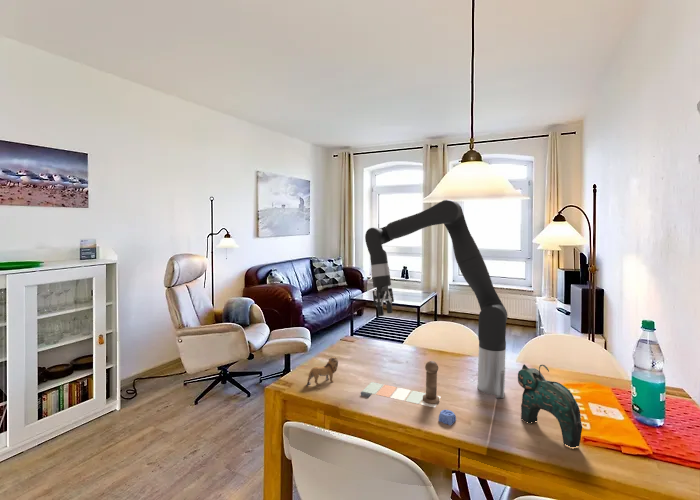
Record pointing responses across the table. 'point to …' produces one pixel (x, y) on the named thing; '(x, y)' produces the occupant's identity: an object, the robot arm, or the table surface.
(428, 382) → the pawn
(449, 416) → the decorative dice
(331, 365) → the lion figurine
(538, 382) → the ceramic cat
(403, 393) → the game board
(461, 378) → the table surface
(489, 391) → the robot arm
